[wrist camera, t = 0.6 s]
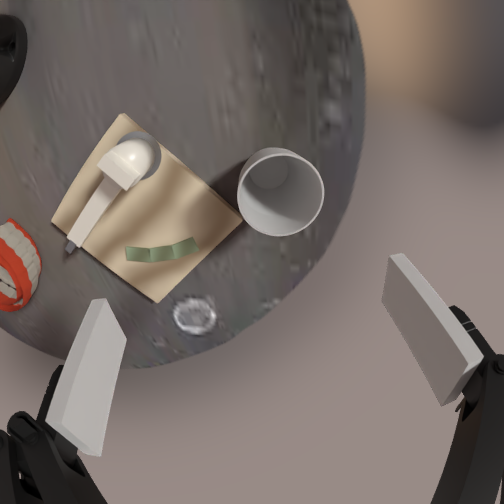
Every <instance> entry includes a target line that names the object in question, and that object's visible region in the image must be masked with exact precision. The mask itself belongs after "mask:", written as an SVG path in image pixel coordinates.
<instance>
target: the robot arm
mask: <svg viewBox="0 0 504 504" xmlns="http://www.w3.org/2000/svg"><path fill="white" fill-rule="evenodd" d="M26 53H27V33H26V29H25V26H24V24H23V23H22V21H21V20H20V19H19V18H17V17H15V16H11V15H5V14H0V104H1V103H2V102H3V101H4V100H5V99H6V98H7V97H8V96H9V94H10V93H11V92H12V90H13V88H14V87H15V85H16V83H17V81H18V79H19V77H20V75H21V72H22V69H23V66H24V63H25V59H26ZM382 303H383V304H384V306H385V308H386V309H387V311H388V312H389V314H390V316H391V317H392V319H393V321H394V322H395V324H396V326H397V327H398V329H399V331H400V332H401V334H402V336H403V337H404V339H405V341H406V342H407V344H408V346H409V348H410V349H411V351H412V353H413V355H414V357H415V358H416V360H417V362H418V364H419V366H420V367H421V369H422V371H423V373H424V375H425V377H426V378H427V380H428V382H429V384H430V386H431V388H432V390H433V392H434V394H435V396H436V398H437V400H438V401H439V403H440V405H441V406H444V405H446V404H448V403H450V402H452V401H454V400H456V399H457V397H458V396H459V395H460V393H461V392H462V393H463V395H464V398H463V400H462V401H461V403H460V404H459V405H458V406H457V408H456V410H455V412H458V410H459V409H460V408H461V410H460V414H459V419H458V423H457V426H456V430H455V434H454V438H453V442H452V445H451V448H450V452H449V455H448V458H447V461H446V464H445V467H444V470H443V473H442V476H441V479H440V481H439V484H438V487H437V489H436V491H435V494H434V497H433V499H432V501H431V504H495V500H496V497H497V494H498V490H499V486H500V483H501V479H502V488H501V501H500V504H504V355H502V354H497V355H496V354H495V352H494V351H493V350H492V349H491V347H490V346H489V344H488V343H487V341H486V340H485V339H484V337H483V336H482V335H481V333H480V332H479V331H478V329H476V327H475V325H474V324H473V323H472V322H471V320H470V319H469V318H468V316H467V315H466V314H465V312H463V311H462V310H461V309H459V308H458V307H456V306H455V305H454V306H451V307H447V305H446V304H445V303H444V301H443V300H442V299H441V298H440V296H439V295H438V294H437V293H436V291H435V290H434V289H433V288H432V287H431V285H430V284H429V283H428V282H427V281H426V279H425V278H424V277H423V276H422V275H421V273H420V272H419V271H418V270H417V269H416V268H415V267H414V265H413V264H412V263H411V262H410V261H409V260H408V259H407V257H406V256H405V255H404V254H403V253H401V254H395V255H390V256H389V259H388V267H387V273H386V279H385V285H384V291H383V296H382ZM126 341H127V339H126V337H125V335H124V333H123V331H122V329H121V327H120V326H119V324H118V322H117V320H116V318H115V316H114V314H113V312H112V310H111V308H110V306H109V304H108V302H107V300H106V298H104V299H95V300H92V302H91V304H90V306H89V308H88V310H87V313H86V315H85V317H84V319H83V321H82V324H81V326H80V328H79V331H78V333H77V335H76V338H75V340H74V342H73V345H72V347H71V350H70V352H69V355H68V357H67V360H66V362H65V365H59V366H58V367H57V369H56V370H55V371H54V373H53V374H52V377H51V379H50V382H49V386H48V387H47V390H46V394H45V395H44V398H43V401H42V404H41V407H40V410H39V413H38V416H37V420H36V421H35V420H34V419H33V418H32V417H31V416H30V415H29V414H28V413H26V412H24V411H19V412H17V413H15V414H14V415H13V416H12V417H11V418H10V420H9V422H8V425H7V432H8V434H10V435H11V436H9V435H8V434H7V433H6V432H5V431H3V430H0V504H107V502H106V500H105V499H104V497H103V496H102V494H101V493H100V491H99V490H98V488H97V486H96V485H95V483H94V481H93V480H92V478H91V477H90V475H89V473H88V471H87V469H86V468H85V466H84V464H83V462H82V460H81V459H80V457H79V456H78V455H77V450H78V449H79V450H81V451H82V452H83V453H84V454H87V455H93V456H100V457H101V454H102V448H103V442H104V436H105V431H106V426H107V421H108V416H109V411H110V406H111V402H112V397H113V393H114V388H115V384H116V380H117V376H118V372H119V368H120V364H121V360H122V356H123V352H124V348H125V345H126ZM19 473H20V474H21V479H19Z"/></svg>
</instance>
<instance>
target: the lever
mask: <svg viewBox="0 0 504 504" xmlns="http://www.w3.org/2000/svg"><path fill="white" fill-rule="evenodd" d="M154 161H155V152H154V149H153V147H152V145H151V144H150V143H149V142H148V141H146V140H145V139H142V138H131V139H129V140H127V141H125V142H123V143H121V144H119V145H117V146H115V147H113V148H111V149H110V150H109V151H108V152H107V153H106V154H104V156H103V157H102V158H101V160H100V161H99V163H98V164H97V166H98V167H99V168H100V169H101V170H102V173H103V176H104V179H103V181H102V182H101V183H100V185H99V186H98V188H97V189H96V191H95V192H94V194H93V195H92V197H91V198H90V200H89V201H88V203H87V204H86V206H85V208H84V209H83V211H82V212H81V214H80V216H79V217H78V219H77V220H76V222H75V224H74V225H73V227H72V229H71V230H70V232H69V234H68V236H67V238H68V239H69V240H70V241H69V243H68V244H67V246H66V248H65V250H66V251H67V252H69V253H70V254H71V253H72V251H73V250H74V249H75V248H76V246H78V247H79V248H80V247H81V245H82V244H83V243H84V242H85V240H86V239H87V238H88V236H89V235H90V233H91V232H92V230H93V229H94V227H95V226H96V224H97V223H98V221H99V220H100V219H101V217H102V216H103V214H104V213H105V211H106V210H107V209H108V207H109V206H110V204H111V203H112V202H113V200H114V199H115V197H116V196H117V195H118V193H119V192H120V191H121V189H125V190H126V191H127V190H128V189H129V188H130V187H133V186H134V185H135V184H137V183H138V181H139V180H140V179H141V178H142V177H143V176H144V175H145V174H146V173H147V172H148V171H149V170H150V169H151V168H152V166H153V164H154Z"/></svg>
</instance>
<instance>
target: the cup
mask: <svg viewBox="0 0 504 504" xmlns="http://www.w3.org/2000/svg"><path fill="white" fill-rule="evenodd" d="M323 200H324V186H323V182H322V179H321V177H320V175H319V173H318V171H317V170H316V169H315V167H314V166H313V165H312V164H311V163H309V162H308V161H307V160H305V159H303V158H302V157H300V156H299V155H297V154H295V153H294V152H292V151H289V150H286V149H282V148H265V149H262V150H259V151H257V152H256V153H254V154H253V155H252V156H251V157H250V158H249V159H248V160H247V162H246V163H245V165H244V166H243V168H242V170H241V173H240V176H239V183H238V192H237V201H238V206H239V210H240V212H241V214H242V216H243V218H244V219H245V220H246V222H247V223H248V224H249V225H250V226H251V227H253V228H254V229H256V230H257V231H259V232H261V233H264V234H267V235H272V236H286V235H291V234H294V233H296V232H299V231H301V230H302V229H304V228H306V227H307V226H308V225H309V224H310V223H312V221H313V220H314V219H315V218H316V217H317V215H318V213H319V212H320V210H321V207H322V204H323Z"/></svg>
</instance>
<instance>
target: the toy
mask: <svg viewBox="0 0 504 504" xmlns="http://www.w3.org/2000/svg"><path fill="white" fill-rule="evenodd" d="M41 267H42V264H41V258H40V255H39V252H38V250H37V247H36V245H35V243H34V241H33V240H32V238H31V236H30V235H29V234H28V233H27V232H25V231H24V229H23V228H22V227H21V226H19V225H18V224H17V223H16V222H15V221H14V220H13V219H11V218H9V219H8V220H7V223H5V224H4V225H1V226H0V279H1V280H2V281H3V282H5V283H6V284H10V286H11V287H13V288H16V291H15V290H14V289H13V288H11V287H8V285H6V284H5V283H3V282H0V309H1V310H3V311H8V312H11V311H17V310H19V309H21V308H22V307H23V306H25V305H26V304H27V303H28V301H29V299H30V298H31V295H32V294H33V293H34V291H35V290H36V288H37V285H38V277H39V275H40V273H41Z"/></svg>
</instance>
